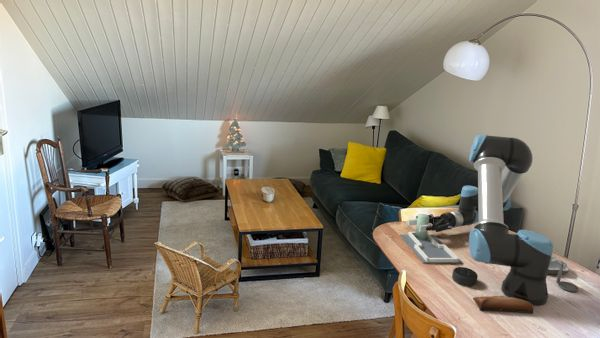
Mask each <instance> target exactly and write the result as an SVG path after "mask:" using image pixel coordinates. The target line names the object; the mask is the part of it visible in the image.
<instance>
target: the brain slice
mask: <svg viewBox="0 0 600 338" xmlns="http://www.w3.org/2000/svg"><path fill="white" fill-rule="evenodd" d="M562 261H563V260H561V259H558V258H557V257H556V256H553V255H552V256H551V260H550V264H549V269H548V273H547V275H555V276H558V272H559V268H560V266H561V264H562ZM569 269H570V268H569V265H568V264H567V263H566V262H564V261H563V271H562V276H563V275H565V274H566V273H568V272H569Z"/></svg>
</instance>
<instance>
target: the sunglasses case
mask: <svg viewBox="0 0 600 338" xmlns="http://www.w3.org/2000/svg"><path fill="white" fill-rule="evenodd" d="M472 300H473V302H474V303H475V305H476V307H478V309H479V311H506V312H517V313H519V312H520V313H531V314H533V313H534V309H535V308H534V305H532V304H531V303H530V302H528V301H525V300H522V299H518V298H513V297H508V296H506V295H505V296H504V295H493V296H487V295H486V296H484V295H483V296H475V297H473V298H472Z"/></svg>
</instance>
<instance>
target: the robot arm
mask: <svg viewBox="0 0 600 338" xmlns="http://www.w3.org/2000/svg"><path fill="white" fill-rule="evenodd" d="M472 141H473V142H472V145H471V148H470V152H469V155H468V156H469V157H468V158H469V163H471V164H473V167H474V169H475V170H476V171H477V186H478V187H477V186H473V185H463V186H462V188H461V193H460V198H459V205H458V210H455V211H454V210H453V211H448V212H443V213H441V214H440V216H439V215H438V216H434V215H433V214H432V213H431V214H427V215H428V216H429V222H428V225H422V226H420V227H419V232H424V231H427V232H429V231H430V232H431V231H432V232H436V233H439V232H444V231H447V230H452V228H453V229H454V228H455V229H456V228H458V227H465V226H471V225H474V228H472V229H471V230H470V232H469V237H468V239H469V240H468V246H469V252H470V255H471V257H472V259H473V260H474V261H475V262H478V263H484V264H485V265H486V264H491V265H496V266H505V267H510V270H509V272H508V273H507V275H506V276H505V278H504V280H502V282H501V287H500V289H501V291H502V293H503V294H504V295H505V296H506V297H513V298H518V299H522V300H525V301H528V302H530V303H531V304H532V305H533V306H543V305H545V304H546V303H547V302H548V297H549V293H548V286H547V276H548V274H547V273H548V269H549V264H550V260H551V256H553V249H554V243H553V242H552V240H551V239H550V238H548V237H547V236H545V235H544V234H541V233H538V232H536V231H533V230H529V229H519V230H518V231H517V234H515V233H509V226H508V225H506V224H505V223H504V211H509V209H510V208H511V205H512V204H511V203H512V199H511V194H512V193H513V191H514V189H515V188H516V186H517V184H518V183H519V181H520V179H521V177H522V176H523V175H524V174H526V173H527V172H528V171H529V170H530V168H531V166H532V164H533V153H532V150H531V148H530V146H529V145H528V144H527V143H526V142H525V141H523V140H521V139H519V138H517V137H509V136H508V137H507V136H506V137H505V136H496V135H495V136H494V135H489V134H478V135H476V136H475V137H474V139H473V140H472ZM476 208H478V211H477V210H476ZM417 219H418V215H416V216H415V218H411V219H408V220H407V226H408V227H410V226H417Z"/></svg>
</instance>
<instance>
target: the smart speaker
mask: <svg viewBox="0 0 600 338" xmlns="http://www.w3.org/2000/svg"><path fill="white" fill-rule="evenodd" d="M451 278H452V280H453V281H454V282H455V283H456V284H458V285H461V286H466V287H472V286H475V285H476V284H477V282H478V273H477V272H476V271H475V270H473V269H471V268H469V267H463V266H457V267H454V269H453V271H452V275H451Z"/></svg>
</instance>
